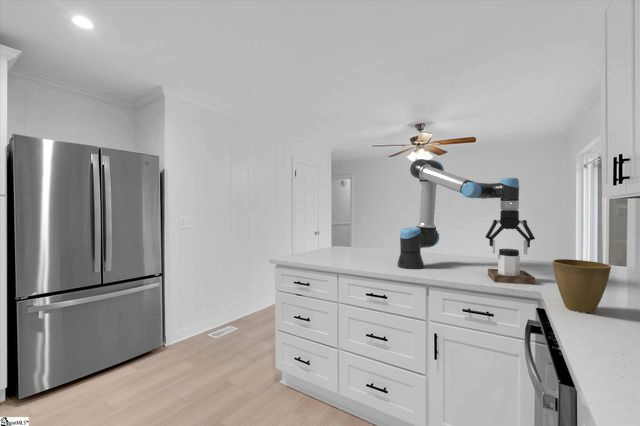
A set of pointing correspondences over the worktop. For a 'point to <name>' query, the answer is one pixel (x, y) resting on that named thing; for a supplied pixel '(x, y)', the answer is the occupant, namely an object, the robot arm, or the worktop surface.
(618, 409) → the worktop surface
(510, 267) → the jar
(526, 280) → the wooden tray
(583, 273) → the plant pot
